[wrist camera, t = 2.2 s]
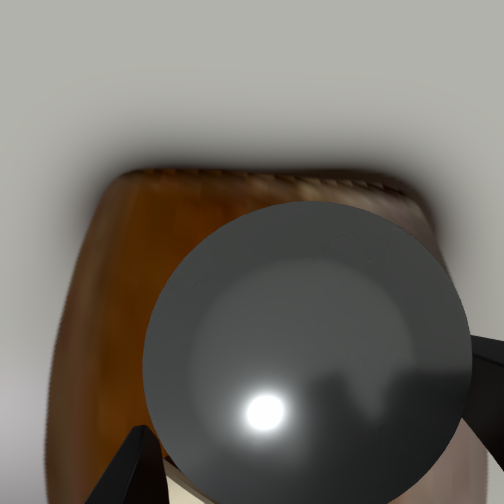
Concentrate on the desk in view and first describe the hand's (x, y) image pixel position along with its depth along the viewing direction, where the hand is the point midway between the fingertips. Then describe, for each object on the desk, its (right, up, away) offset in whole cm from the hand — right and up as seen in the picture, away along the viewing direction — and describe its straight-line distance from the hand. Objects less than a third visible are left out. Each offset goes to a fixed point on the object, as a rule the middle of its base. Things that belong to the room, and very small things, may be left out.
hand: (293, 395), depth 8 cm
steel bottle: (0, -4, +8) cm, 9 cm away
